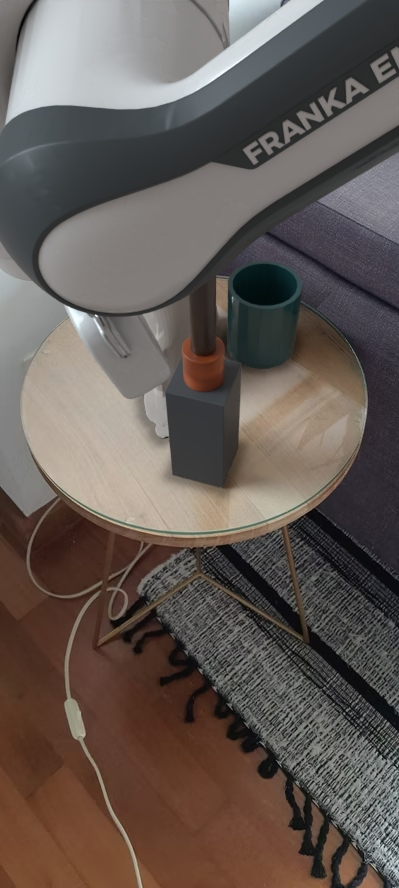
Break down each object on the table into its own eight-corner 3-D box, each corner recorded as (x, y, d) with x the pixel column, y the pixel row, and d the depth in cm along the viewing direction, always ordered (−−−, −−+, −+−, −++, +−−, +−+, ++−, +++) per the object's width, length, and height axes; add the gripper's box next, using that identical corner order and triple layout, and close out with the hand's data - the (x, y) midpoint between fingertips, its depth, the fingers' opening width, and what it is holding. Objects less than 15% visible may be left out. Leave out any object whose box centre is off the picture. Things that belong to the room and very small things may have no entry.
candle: (143, 439, 81) (125, 308, 65) (144, 355, 89) (128, 221, 73) (204, 436, 81) (201, 305, 65) (200, 352, 89) (196, 218, 73)
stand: (238, 447, 80) (241, 362, 69) (223, 488, 76) (224, 406, 65) (189, 435, 81) (185, 349, 70) (172, 475, 77) (164, 391, 66)
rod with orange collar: (229, 367, 68) (231, 249, 57) (217, 396, 66) (217, 279, 55) (191, 358, 69) (186, 240, 58) (177, 386, 67) (170, 270, 56)
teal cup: (301, 329, 91) (309, 268, 84) (285, 375, 86) (292, 315, 78) (237, 315, 93) (239, 254, 85) (218, 360, 88) (218, 300, 80)
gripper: (152, 296, 37) (217, 405, 49) (34, 85, 46) (113, 221, 58) (51, 355, 37) (141, 448, 49) (-46, 135, 46) (50, 259, 59)
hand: (125, 324), depth 54 cm, fingers open, 8 cm apart
